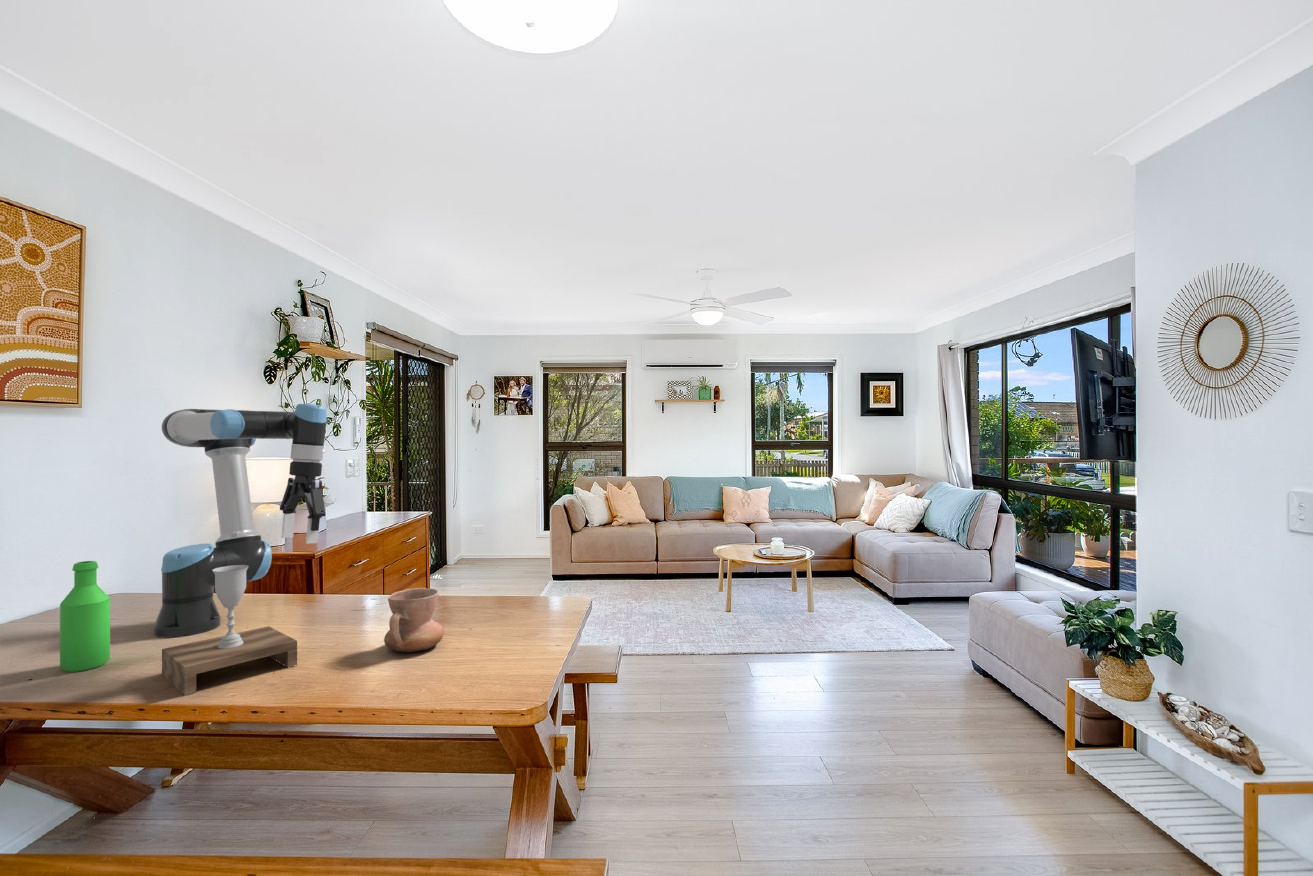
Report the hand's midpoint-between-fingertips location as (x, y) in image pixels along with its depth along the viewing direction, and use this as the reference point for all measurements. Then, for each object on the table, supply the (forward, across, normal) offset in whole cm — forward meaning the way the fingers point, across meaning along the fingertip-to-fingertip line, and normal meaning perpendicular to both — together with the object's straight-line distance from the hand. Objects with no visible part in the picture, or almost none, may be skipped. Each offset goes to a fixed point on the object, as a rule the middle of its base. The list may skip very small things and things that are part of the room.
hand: (299, 540), depth 164 cm
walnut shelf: (+28, -8, +17) cm, 34 cm away
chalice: (+23, -8, +17) cm, 30 cm away
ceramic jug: (+26, -30, -17) cm, 43 cm away
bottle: (+31, +23, +36) cm, 52 cm away
